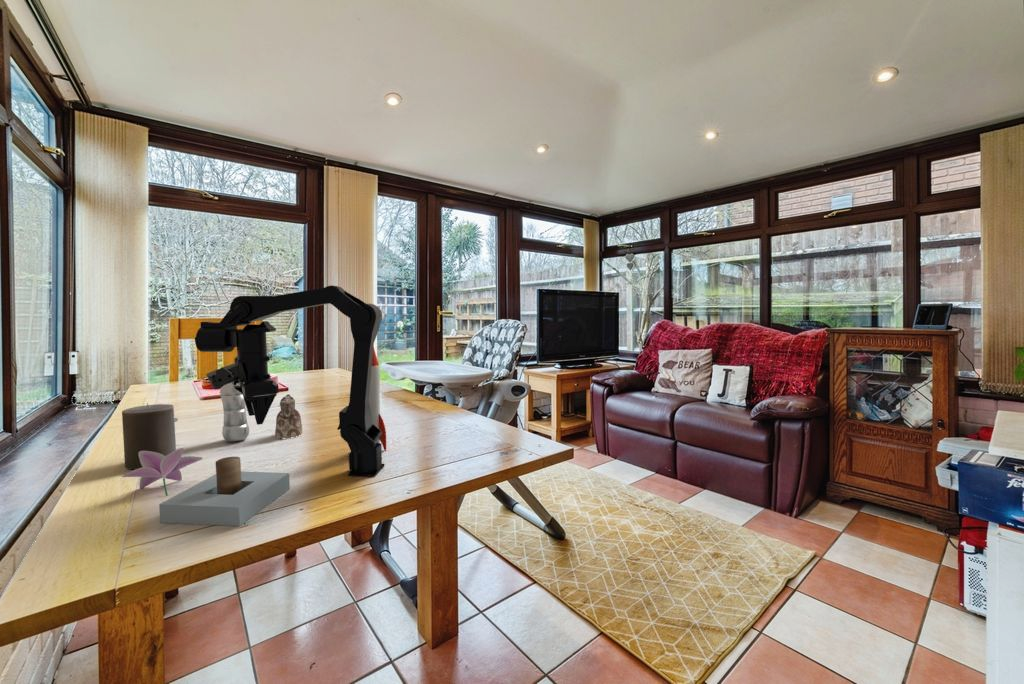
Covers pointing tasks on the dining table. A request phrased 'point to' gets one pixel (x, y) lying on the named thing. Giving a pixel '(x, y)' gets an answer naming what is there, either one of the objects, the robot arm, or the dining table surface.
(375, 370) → the toy rocket
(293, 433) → the figurine
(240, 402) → the plastic bottle
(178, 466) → the lily
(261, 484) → the socket block
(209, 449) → the dining table surface
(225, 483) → the walnut peg
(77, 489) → the dining table surface
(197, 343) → the robot arm
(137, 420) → the pillar candle
